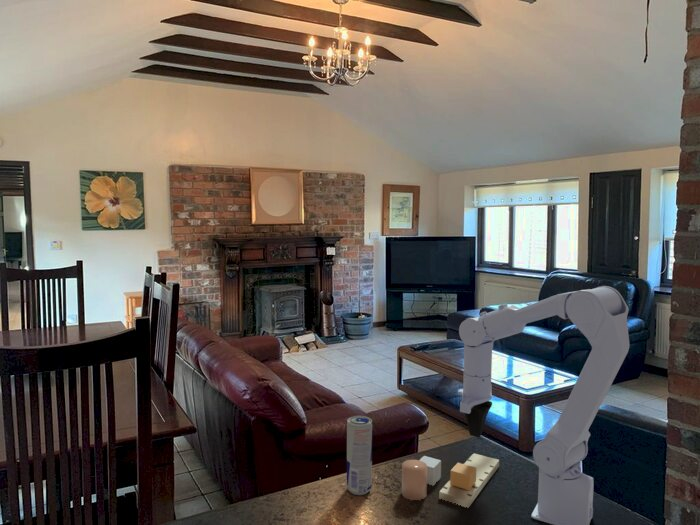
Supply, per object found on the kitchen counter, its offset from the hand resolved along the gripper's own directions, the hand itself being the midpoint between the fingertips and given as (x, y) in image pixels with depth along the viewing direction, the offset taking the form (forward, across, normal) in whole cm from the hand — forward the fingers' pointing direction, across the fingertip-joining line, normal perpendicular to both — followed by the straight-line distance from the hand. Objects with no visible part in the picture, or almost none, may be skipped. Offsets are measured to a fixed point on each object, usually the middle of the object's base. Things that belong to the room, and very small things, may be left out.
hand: (475, 435), depth 111 cm
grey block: (+10, +6, -8) cm, 14 cm away
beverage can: (+10, +18, -18) cm, 27 cm away
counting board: (+9, +2, 0) cm, 10 cm away
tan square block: (+8, +7, 0) cm, 10 cm away
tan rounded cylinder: (+10, +13, -8) cm, 18 cm away
